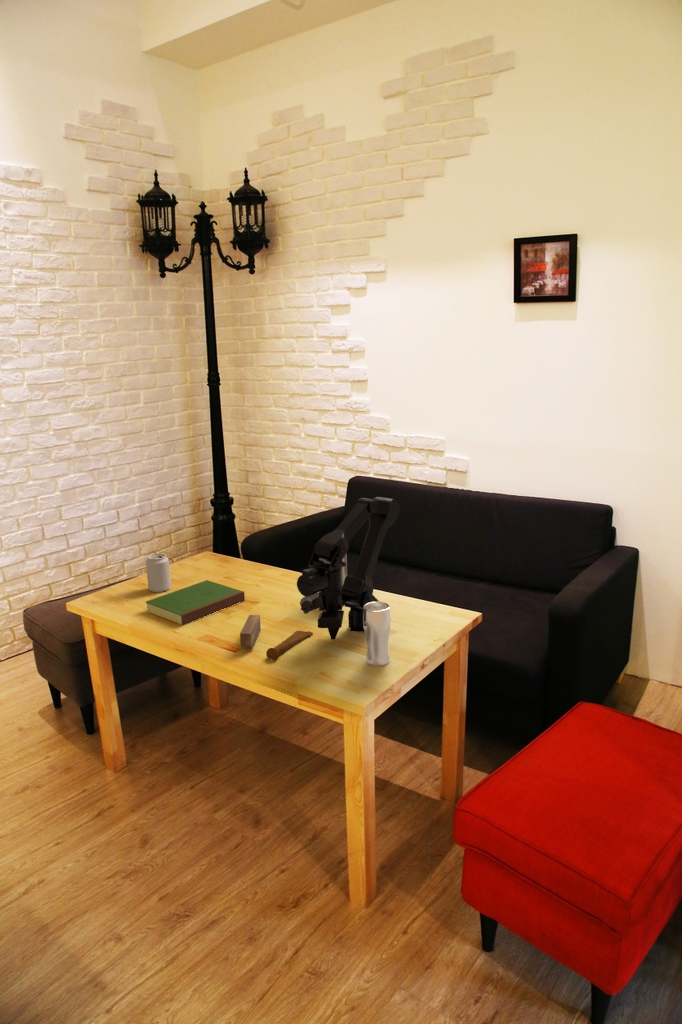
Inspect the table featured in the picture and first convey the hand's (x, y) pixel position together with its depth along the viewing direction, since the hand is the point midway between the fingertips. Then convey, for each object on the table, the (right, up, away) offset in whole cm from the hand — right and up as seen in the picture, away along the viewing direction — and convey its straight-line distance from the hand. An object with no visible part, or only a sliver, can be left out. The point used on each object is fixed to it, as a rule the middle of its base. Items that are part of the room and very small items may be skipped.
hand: (333, 639), depth 194 cm
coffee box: (+1, +7, +31) cm, 32 cm away
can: (-59, +8, +47) cm, 76 cm away
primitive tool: (-12, -2, 0) cm, 12 cm away
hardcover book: (-43, +4, +31) cm, 53 cm away
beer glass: (+12, -4, -11) cm, 17 cm away
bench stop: (-23, -1, +4) cm, 23 cm away
